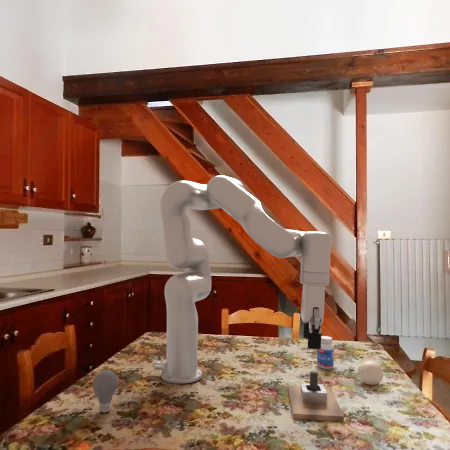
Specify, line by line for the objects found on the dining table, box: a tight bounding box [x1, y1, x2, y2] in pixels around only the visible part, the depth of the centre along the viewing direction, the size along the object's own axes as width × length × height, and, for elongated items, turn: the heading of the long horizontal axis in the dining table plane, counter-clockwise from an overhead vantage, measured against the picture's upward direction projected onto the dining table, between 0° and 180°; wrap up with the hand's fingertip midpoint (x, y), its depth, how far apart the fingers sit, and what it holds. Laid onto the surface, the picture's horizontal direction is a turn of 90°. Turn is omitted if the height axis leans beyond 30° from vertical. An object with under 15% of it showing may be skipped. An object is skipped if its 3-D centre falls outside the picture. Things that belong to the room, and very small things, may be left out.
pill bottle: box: [316, 335, 335, 370], centre depth 136 cm, size 6×5×10 cm
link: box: [300, 382, 327, 405], centre depth 106 cm, size 6×6×3 cm
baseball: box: [357, 360, 384, 386], centre depth 121 cm, size 7×7×7 cm
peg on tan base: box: [287, 370, 345, 422], centre depth 106 cm, size 12×18×8 cm, turn 175°
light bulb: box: [92, 369, 119, 413], centre depth 99 cm, size 6×6×10 cm
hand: (311, 343), depth 106 cm, fingers open, 9 cm apart
